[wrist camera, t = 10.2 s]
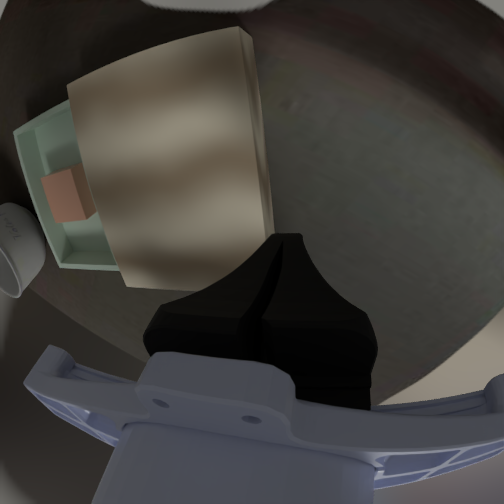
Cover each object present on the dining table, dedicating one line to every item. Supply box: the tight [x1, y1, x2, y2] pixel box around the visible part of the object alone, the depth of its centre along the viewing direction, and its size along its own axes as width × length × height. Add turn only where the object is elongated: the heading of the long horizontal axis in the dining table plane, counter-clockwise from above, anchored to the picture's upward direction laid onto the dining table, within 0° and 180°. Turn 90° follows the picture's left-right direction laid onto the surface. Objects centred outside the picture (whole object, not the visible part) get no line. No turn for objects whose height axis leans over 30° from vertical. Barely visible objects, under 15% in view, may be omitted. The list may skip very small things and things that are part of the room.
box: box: [13, 99, 120, 271], centre depth 22 cm, size 16×10×3 cm, turn 7°
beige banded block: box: [67, 26, 275, 291], centre depth 19 cm, size 18×13×4 cm
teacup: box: [0, 203, 46, 298], centre depth 26 cm, size 14×11×8 cm
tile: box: [40, 162, 97, 223], centre depth 23 cm, size 5×5×2 cm
